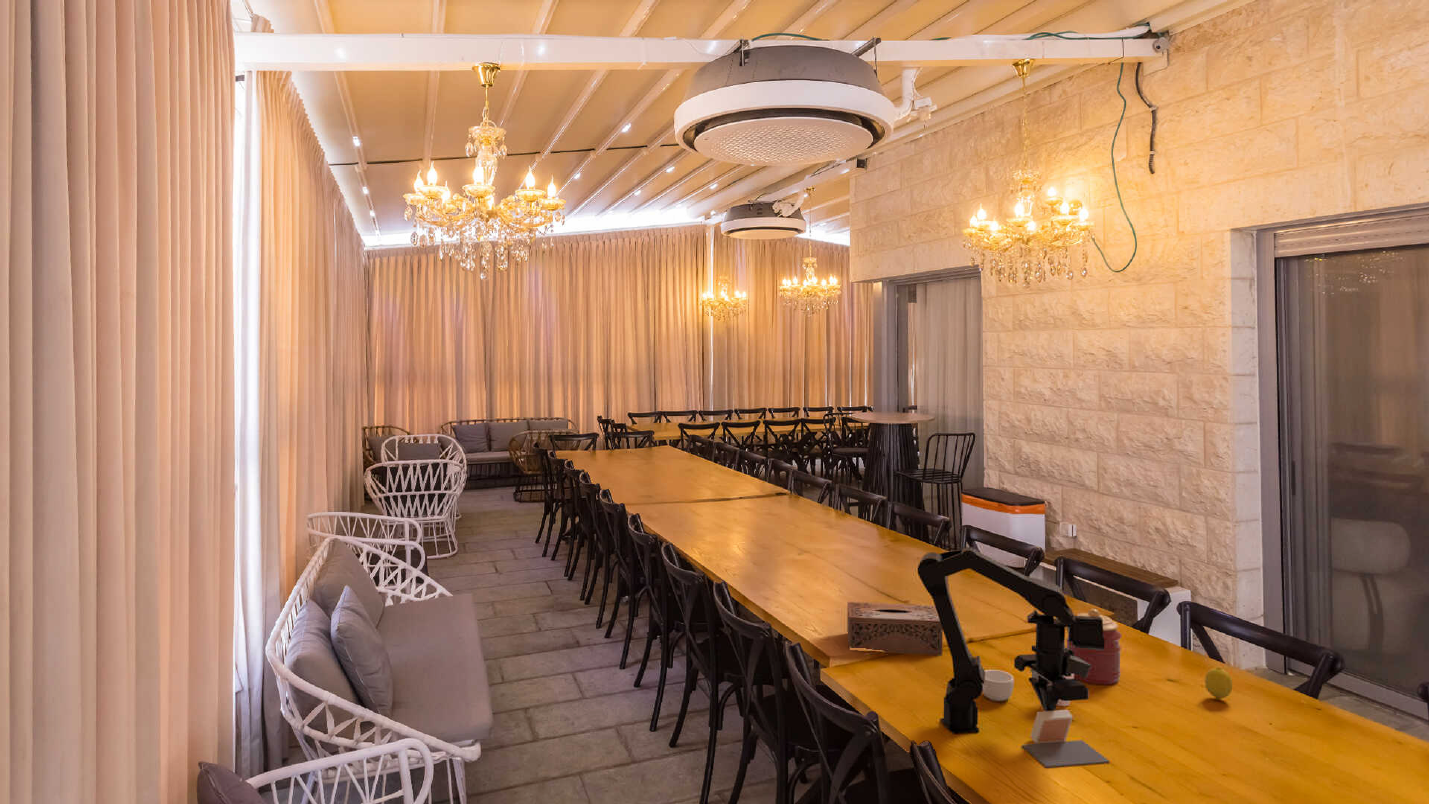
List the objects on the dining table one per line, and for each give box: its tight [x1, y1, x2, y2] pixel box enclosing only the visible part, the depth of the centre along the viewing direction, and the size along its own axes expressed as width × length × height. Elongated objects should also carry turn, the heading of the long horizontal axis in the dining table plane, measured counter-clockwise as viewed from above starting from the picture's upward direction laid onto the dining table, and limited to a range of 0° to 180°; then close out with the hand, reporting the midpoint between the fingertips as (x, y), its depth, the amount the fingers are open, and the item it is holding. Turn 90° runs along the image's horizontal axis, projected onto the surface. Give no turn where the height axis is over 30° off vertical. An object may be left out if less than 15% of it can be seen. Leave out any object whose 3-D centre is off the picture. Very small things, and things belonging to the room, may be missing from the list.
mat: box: [1021, 739, 1110, 769], centre depth 162 cm, size 14×9×1 cm, turn 99°
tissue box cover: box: [846, 601, 944, 656], centre depth 226 cm, size 26×14×10 cm, turn 82°
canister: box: [1065, 608, 1122, 685], centre depth 203 cm, size 13×13×18 cm
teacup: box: [982, 669, 1015, 702], centre depth 190 cm, size 10×8×5 cm
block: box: [1030, 709, 1074, 744], centre depth 166 cm, size 7×2×7 cm, turn 99°
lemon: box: [1204, 666, 1233, 700], centre depth 188 cm, size 6×6×8 cm
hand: (1048, 715), depth 167 cm, fingers closed
